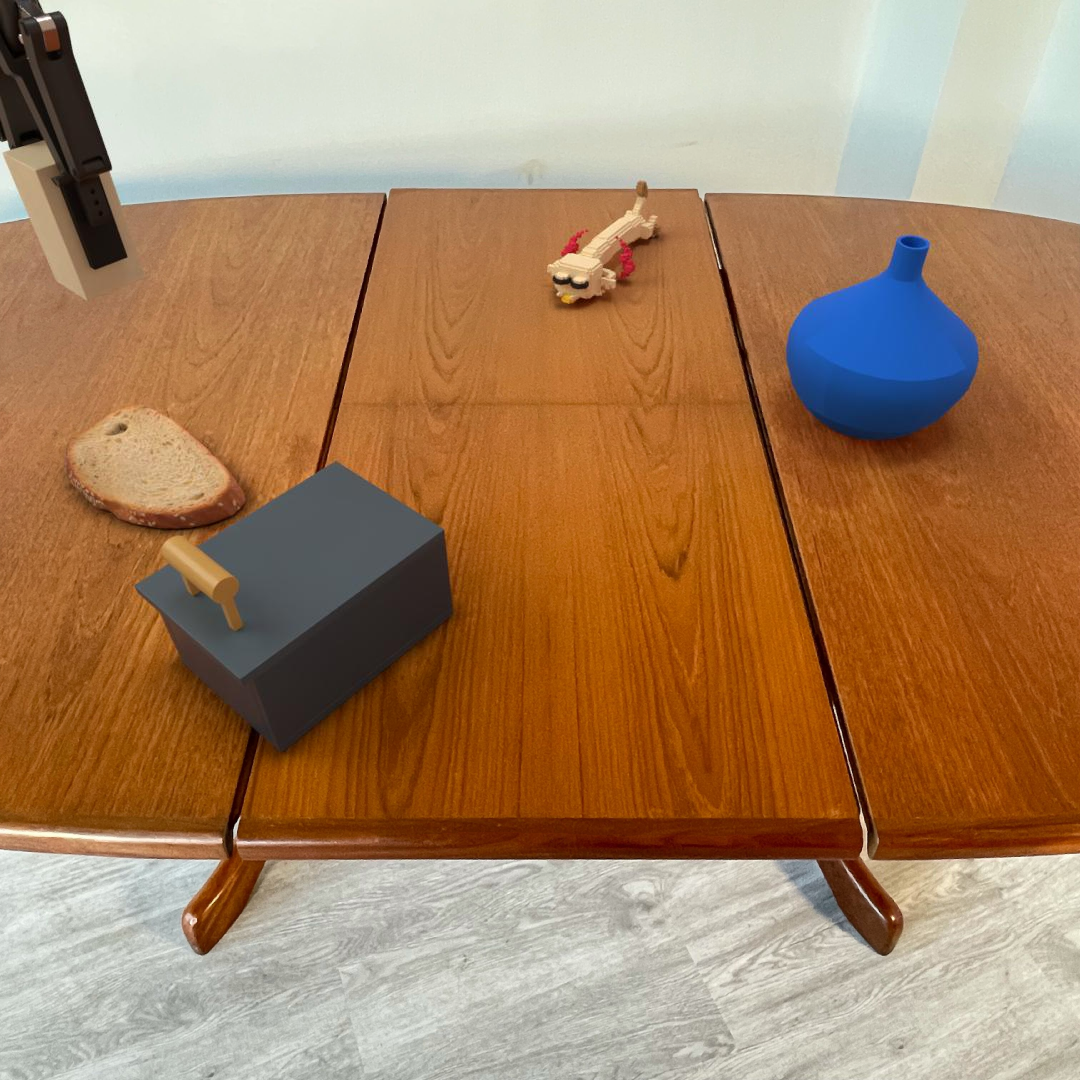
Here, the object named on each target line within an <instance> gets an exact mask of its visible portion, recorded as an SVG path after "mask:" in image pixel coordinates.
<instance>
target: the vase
mask: <svg viewBox="0 0 1080 1080" xmlns="http://www.w3.org/2000/svg"><path fill="white" fill-rule="evenodd" d="M930 246H931V243H930V241H929V240H928V239H926V238H924V237H922V236H918V235H913V234H904V235H901V236H898V237H897V238H896V242H895V245H894V248H893V252H892V255H891V259H890V262H889V264H888V266H887V267H886V269H885V270H883V271H882V272H880V273H879V274H878V275H876V276H874V277H871V278H868V279H866V280H864V281H862V282H859V283H856V284H854V285H850V286H848V287H844V288H841V289H839V290H836V291H833V292H830V293H827V294H825V295H822V296H819V297H818V298H815V299H813V300H811V301H810V302H809V303H807V304H805V306H804V307H803V308H802V309H801V310H800V312H799V313H798V314H797V316H796V317H795V319H794V321H793V323H792V325H791V326H790V328H789V331H788V335H787V342H786V346H785V354H786V355H785V357H786V358H785V360H786V365H787V368H788V373H789V376H790V377H789V378H790V381H791V385H792V387H793V390H794V391H795V393H796V395H797V397H798V398H799V400H800V401H801V403H802V405H803V406H804V407H805V409H806V410H807V411H808V413H810V415H811V416H813V418H815V419H816V420H817V421H818V422H820V423H822V424H823V425H824V426H826V427H827V428H829V429H830V430H832V431H834V432H836V433H838V434H840V435H843V436H846V437H850V438H852V439H853V438H854V439H857V440H865V441H886V440H894V439H899V438H903V437H907V436H910V435H912V434H915V433H917V432H918V431H921V430H923V429H925V428H927V427H929V426H931V425H933V424H934V423H936V422H938V421H940V419H942V418H943V417H944V416H945V415H946V414H947V413H948V412H949V411H950V410H952V408H953V407H954V406H955V405H957V403H959V402H960V401H961V399H962V398H963V397H964V396H965V394H966V393H967V392H968V391H969V390H970V387H971V386H972V382H973V381H974V378H975V375H976V374H977V371H978V366H979V359H980V358H979V344H978V342H977V338H976V335H975V333H974V332H973V331H972V330H971V328H970V327H969V326H968V325H967V324H966V323H965V321H963V320H962V319H961V318H960V316H958V315H957V314H956V313H955V312H954V311H952V309H951V308H949V307H948V305H946V303H944V302H943V301H942V300H941V299H940V297H938V295H936V293H935V292H934V291H933V290H932V289H931V288H930V287H929V286H928V285H927V283H926V281H925V278H924V277H923V268H924V264H925V262H926V258H927V256H928V252H929V250H930Z"/></svg>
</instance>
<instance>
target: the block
mask: <svg viewBox="0 0 1080 1080" xmlns="http://www.w3.org/2000/svg"><path fill="white" fill-rule="evenodd" d="M2 155H3V158H4V159H3V160H4V162H5V164H6V166H7V168H8V170H9V173H10V175H11V177H12V181H13V182H14V185H15V187H16V189H17V192H18V195H19V196H20V199H21V201H22V204H23V206H24V209H25V211H26V213H27V216H28V218H29V220H30V223H31V225H32V227H33V230H34V232H35V235H36V237H37V239H38V241H39V244H40V246H41V249H42V251H43V253H44V256H45V258H46V261H47V263H48V265H49V269H50V270H51V272H52V275H53V277H54V280H55V282H56V283H58V284H60V285H62V287H64V288H65V289H67V290H69V291H71V292H72V293H74V294H75V295H77V296H78V297H80V298H81V299H83V300H85V301H86V302H90V301H93V300H95V299H98V298H100V297H103V296H105V295H108V294H110V293H113V292H116V291H118V290H120V289H123V288H125V287H127V286H130V285H132V284H134V283H137V282H140V281H142V280H144V279H147V276H146V273H145V271H144V268H143V264H142V262H141V259H140V256H139V252H138V250H137V247H136V244H135V242H134V241H135V240H134V239H133V236H132V235H133V234H132V232H131V229H130V227H129V224H128V221H127V218H126V215H125V213H124V210H123V207H122V204H121V201H120V198H119V195H118V191H117V189H116V186H115V183H114V181H113V178H112V174H111V171H109V172H106V173H102V174H99V176H100V179H101V182H102V185H103V188H104V191H105V193H106V196H107V199H108V202H109V205H110V208H111V211H112V213H113V216H114V219H115V222H116V225H117V228H118V231H119V233H120V236H121V239H122V242H123V245H124V248H125V250H126V253H127V256H128V258H125V259H123V260H120V261H117V262H115V263H112V264H110V265H107V266H104V267H102V268H99V269H97V270H94V269H93V268H91V267H90V265H89V263H88V260H87V257H86V255H85V252H84V250H83V247H82V244H81V242H80V239H79V237H78V234H77V231H76V229H75V226H74V224H73V221H72V218H71V216H70V213H69V211H68V208H67V205H66V203H65V200H64V198H63V195H62V192H61V190H60V187H57V186H56V185H55V184H54V183H53V181H52V180H51V178H53V177H57V176H60V172H59V170H58V168H57V165H56V163H55V161H54V159H53V157H52V155H51V153H50V151H49V149H48V147H47V144H46V142H45V140H43V141H40V142H36V143H33V144H29V145H26V146H23V147H19V148H16V149H12V150H10V149H9V150H6V151H3V152H2Z"/></svg>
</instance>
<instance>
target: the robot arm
mask: <svg viewBox="0 0 1080 1080" xmlns="http://www.w3.org/2000/svg"><path fill="white" fill-rule="evenodd" d="M73 49H74V48H73V45H72V39H71V34H70V29H69V25H68V21H67V19H66V17H65V15H64V14H63V13H62V12H61V11H59V10H57V11H52V12H47V13H46V12H45V11H44V9H43V7H42V4H41V3H40V0H0V143H5V142H7V146H8V148H9V150H12V149H16V148H19V147H23V146H26V145H29V144H33V143H36V142H40V141H43V140H45V142H46V144H47V147H48V149H49V151H50V153H51V155H52V157H53V159H54V161H55V163H56V165H57V168H58V170H59V172H60V176H57V177H53V178H51V180H52V181H53V183H54V184H55V185H56V186H57V187H60V190H61V192H62V195H63V198H64V200H65V203H66V205H67V208H68V211H69V213H70V216H71V218H72V221H73V224H74V226H75V229H76V231H77V234H78V237H79V239H80V242H81V244H82V247H83V250H84V252H85V255H86V257H87V260H88V263H89V265H90V267H91V268H93V269H94V270H97V269H99V268H102V267H104V266H107V265H110V264H112V263H115V262H117V261H120V260H123V259H125V258H128V256H127V253H126V250H125V248H124V245H123V242H122V239H121V236H120V233H119V231H118V228H117V225H116V222H115V219H114V216H113V213H112V211H111V208H110V205H109V202H108V199H107V196H106V193H105V191H104V188H103V185H102V182H101V179H100V176H99V174H102V173H106V172H109V171H110V172H111V171H112V170H113V165H112V162H111V159H110V156H109V153H108V150H107V146H106V144H105V141H104V138H103V135H102V132H101V130H100V127H99V124H98V120H97V118H96V116H95V112H94V109H93V107H92V104H91V100H90V98H89V95H88V92H87V88H86V86H85V84H84V80H83V78H82V74H81V72H80V69H79V66H78V62H77V59H76V57H75V55H74V50H73Z"/></svg>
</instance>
